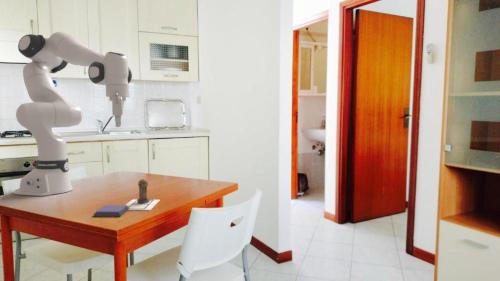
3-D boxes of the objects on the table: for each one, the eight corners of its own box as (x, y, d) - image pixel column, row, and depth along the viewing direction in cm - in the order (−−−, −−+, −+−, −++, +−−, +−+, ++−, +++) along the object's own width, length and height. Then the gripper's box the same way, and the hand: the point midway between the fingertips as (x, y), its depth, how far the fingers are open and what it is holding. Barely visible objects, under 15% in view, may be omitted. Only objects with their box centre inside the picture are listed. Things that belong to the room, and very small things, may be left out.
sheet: (119, 210, 127) (119, 209, 127) (132, 200, 141) (132, 199, 141) (150, 210, 127) (150, 209, 127) (160, 200, 141) (160, 199, 141)
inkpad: (93, 216, 120) (93, 211, 120) (104, 208, 129) (104, 204, 129) (120, 216, 120) (120, 212, 120) (129, 209, 129) (129, 204, 129)
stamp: (137, 203, 135) (136, 180, 134) (137, 200, 139) (137, 178, 138) (149, 203, 136) (148, 180, 135) (149, 200, 140) (149, 177, 139)
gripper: (125, 91, 136) (126, 127, 137) (125, 93, 155) (126, 125, 156) (107, 91, 134) (109, 127, 135) (110, 93, 153) (111, 125, 154)
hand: (118, 126), depth 146 cm, fingers open, 8 cm apart
